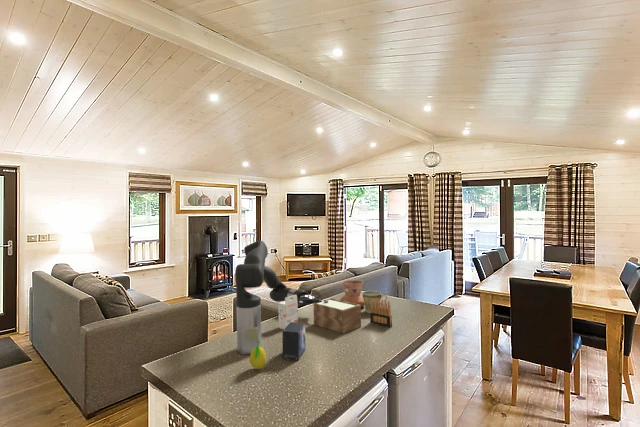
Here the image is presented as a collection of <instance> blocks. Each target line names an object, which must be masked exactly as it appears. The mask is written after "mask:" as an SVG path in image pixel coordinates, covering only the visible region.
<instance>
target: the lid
mask: <svg viewBox="0 0 640 427" xmlns="http://www.w3.org/2000/svg"><path fill="white" fill-rule="evenodd" d="M317 304H321V305H325V306H329V307H333V308H337V309H341V310H344V309H347V308H350V307H353V306H356V305H351V304H347V303H342V302H338V301H333V300H330V299H324V300H323V301H322V302H320V303H317Z"/></svg>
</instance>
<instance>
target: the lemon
mask: <svg viewBox="0 0 640 427" xmlns="http://www.w3.org/2000/svg"><path fill="white" fill-rule="evenodd" d="M258 343H259V344H260V340H259V341H258ZM260 345H261V347H259V346H258V345H257V347H256V348H254V349H253V350H252V352H251V354H250V356H249V363H250V365H251V367H253V368H255V369H256V370H260V369H261V368H263V367H264V366H265V365H266V364H267V353H266V351H265V349H264V348H263V347H262V343H261V344H260Z"/></svg>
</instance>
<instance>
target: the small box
mask: <svg viewBox="0 0 640 427" xmlns="http://www.w3.org/2000/svg"><path fill="white" fill-rule="evenodd" d="M281 333H282V340H281V341H282V344H281V345H282V351H281V352H282V354H281V358H282V359H281V360H283V361H284V360H286V361H295V362H296V361H299V360H301V357H302V356H303V354H304V352H305V351H306V323H304V322H298V323H295V322H290V323H289V324H288V325H287V327H286V328H285V329H282V332H281Z"/></svg>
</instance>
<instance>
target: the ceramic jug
mask: <svg viewBox="0 0 640 427" xmlns="http://www.w3.org/2000/svg"><path fill="white" fill-rule="evenodd" d="M341 286H342V289H343V292H344V295H343V296H341V297H340V298H339V300H341V301H345V302H350V303H354V304H359V305H361V308H363V306H364V307H365V304H364V300H363V295H361V293H362V290H363V287H364V281H363V280H359V279H345V280H343V281H341Z"/></svg>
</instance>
